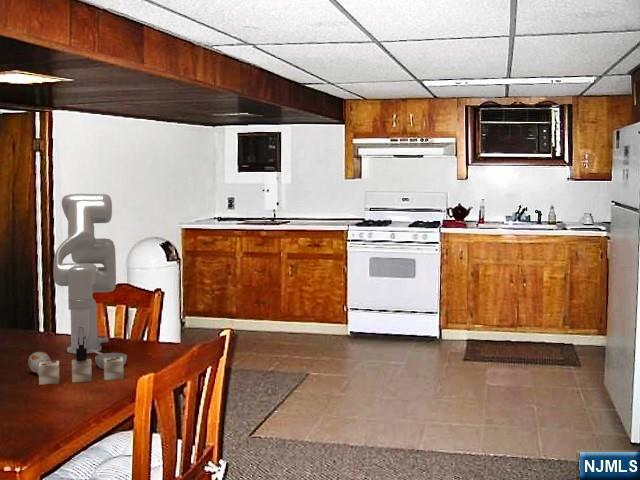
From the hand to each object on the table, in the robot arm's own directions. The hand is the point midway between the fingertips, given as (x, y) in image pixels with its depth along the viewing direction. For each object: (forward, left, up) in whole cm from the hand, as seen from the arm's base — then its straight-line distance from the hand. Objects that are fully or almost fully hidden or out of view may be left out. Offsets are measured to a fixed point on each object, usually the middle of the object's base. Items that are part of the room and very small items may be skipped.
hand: (81, 360), depth 249 cm
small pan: (-17, -11, -7) cm, 22 cm away
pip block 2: (-9, +5, -7) cm, 12 cm away
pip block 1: (+8, -6, -7) cm, 12 cm away
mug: (+5, -16, -7) cm, 18 cm away
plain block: (0, 0, -7) cm, 7 cm away
